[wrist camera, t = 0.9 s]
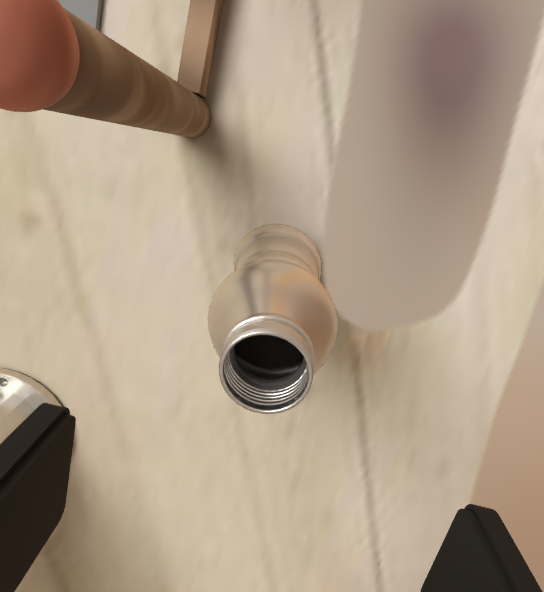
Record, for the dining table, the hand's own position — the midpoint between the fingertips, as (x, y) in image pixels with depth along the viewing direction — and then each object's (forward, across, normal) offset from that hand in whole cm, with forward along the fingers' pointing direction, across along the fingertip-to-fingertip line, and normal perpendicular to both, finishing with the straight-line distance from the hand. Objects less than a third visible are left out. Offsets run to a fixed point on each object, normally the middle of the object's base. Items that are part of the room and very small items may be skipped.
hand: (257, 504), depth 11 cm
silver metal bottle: (+27, 0, 0) cm, 27 cm away
